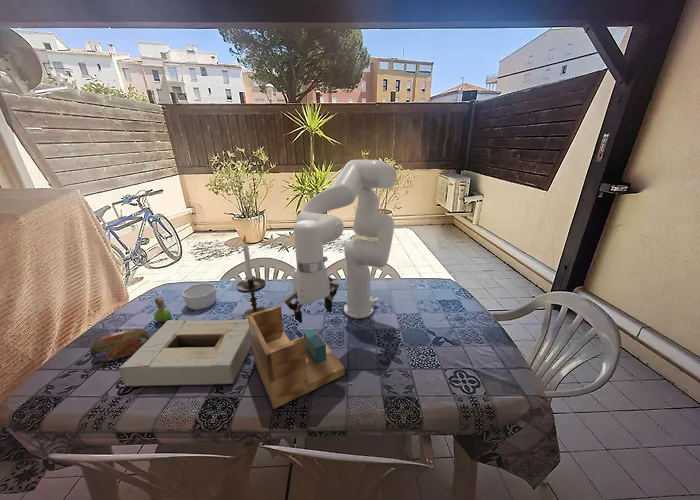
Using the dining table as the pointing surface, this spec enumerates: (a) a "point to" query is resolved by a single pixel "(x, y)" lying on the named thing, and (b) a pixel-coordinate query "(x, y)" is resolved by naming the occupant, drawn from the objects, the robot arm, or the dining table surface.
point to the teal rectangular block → (315, 346)
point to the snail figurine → (161, 311)
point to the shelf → (287, 359)
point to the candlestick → (250, 283)
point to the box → (190, 354)
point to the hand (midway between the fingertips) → (314, 315)
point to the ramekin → (200, 296)
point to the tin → (119, 344)
